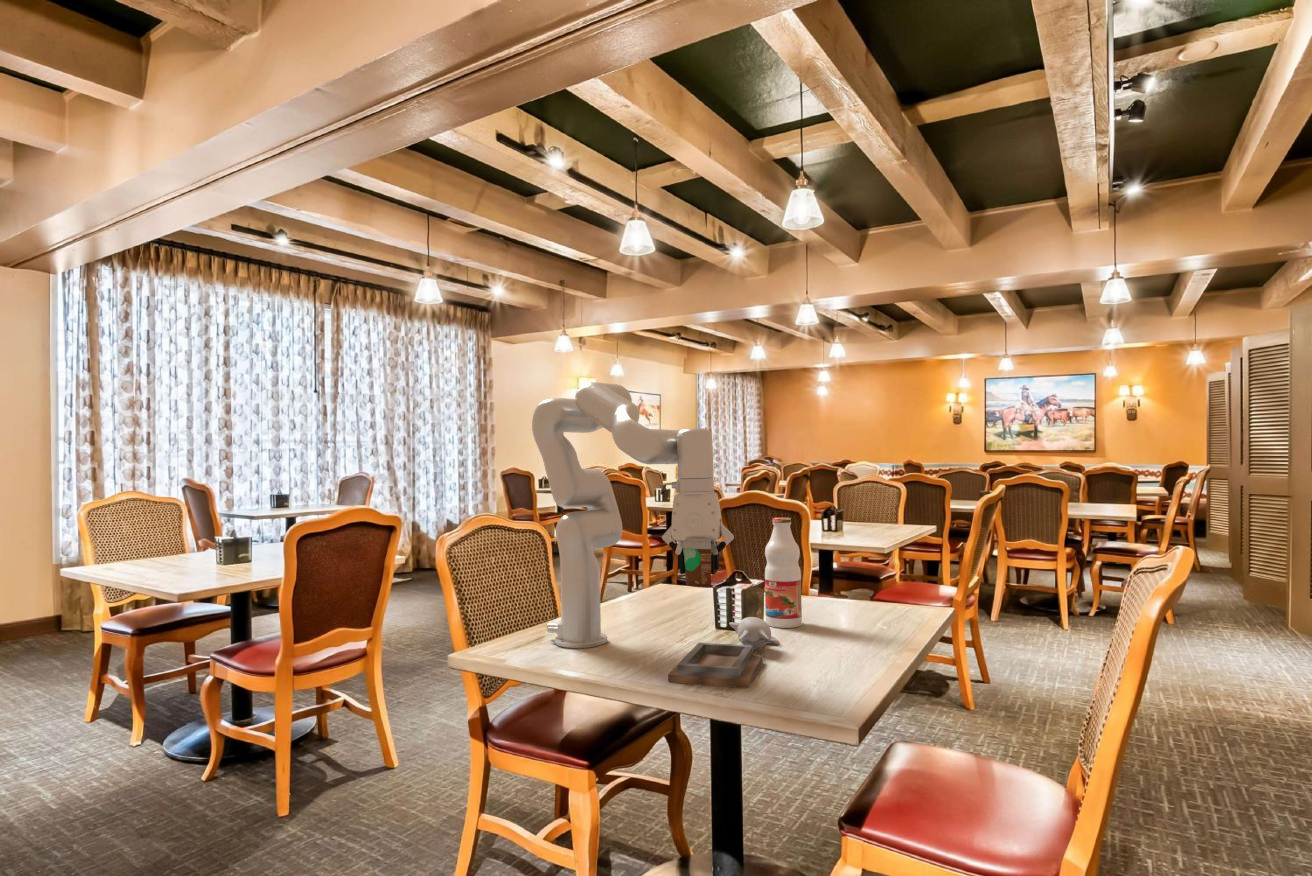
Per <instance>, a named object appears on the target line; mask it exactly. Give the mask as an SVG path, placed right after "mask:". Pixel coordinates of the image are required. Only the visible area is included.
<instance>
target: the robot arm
mask: <svg viewBox="0 0 1312 876" xmlns="http://www.w3.org/2000/svg"><path fill="white" fill-rule="evenodd" d="M632 400H633V399H632V395H631V394H630V392H629V390H628V389H627V388H626V387H624V386H623V385H621V384H615V383H607V382H596V381H594V382H588V383H585V384H582V385H581V386H580V387H579V388H578V389H577V390H576V392H575V396H574V398H566V397H564V398H563V397H553V398H548V399H545V400H543V401H541V402H540V403H538V405H537V406H536V407H535V409H534V412H533V415H532V421H531V430H532V435H533V439H534V442H535V444H536V446H537V448H538V451H539V452H540V456H541V458H542V461H543V465H544V469H545V473H546V474H545V475H546V477H547V480H548V484H549V487H550V492H551V495H552V498H553V501H554V502H555V504H556V505H557V506H558V507H560V508H563V509H573V508H587V509H586V510H579V511H578V510H576V511H571V512H568V513H566V514H564V515H563V516H560V517H561V518H559V519H558V521H557V523H556V527H555V537H556V542H557V547H558V553H559V563H560V565H559V567H560V617H561V619H560V622H559V623H555V622H553V623H552V622H548V623H547V625H546V631H547V633H549V634H550V633H552V634H553V633H554V634H556V635H557V636H556V637H555V638H554V643H555V645H557V646H558V647H562V648H568V649H587V648H594V647H599V646H602V645H604V644H606V643H607V642H608V636H607V634H605V633H603V632H602V630H601V628H602V627H601V625H602V624H601V621H602V620H601V568H600V564H599V561H598V559H597V557H596V555H595V553H594V550H595V549H602V548H608V547H612V546H614V545H616V544H617V543H619V541H620V540H621V539H622V535H623V522H622V517H621V514H620V510H619V507H618V503H617V500H616V496H615V493H614V490H613V486H612V483H611V481H610V479H609V478H608V476H607V475H606V474H605V473H604V472H602V471H601V470H598V469H594V468H589V469H588V468H586V469H585V468H582V466H581V464H580V462H579V461H580V460H579V457H578V454H577V451H576V449H575V447H574V445H573V444H572V443H571V442H570V441H569V439H568V438H567V437H566V435H564V433H576V434H577V433H578V434H579V433H580V434H582V433H583V434H585V433H586V434H589V433H593V432H596V431H598V430H601V429H605V430H606V431H608V432H610V433H611V436H612V439H613V441H614V444H615V445H616V446H617V448H618V449H619V450H620V451H622V452H623V453H625V455H627V456H629V457H630V458H632V459H633V460H634V461H636V462H638V463H641V464H645V465H677V478H676V481H673V482H672V481H671V489H675V490H677V492H678V493H675V494H674V495H673V501H672V510H671V512H672V513H671V525H670V526H669V528H668V529H667V530H666V531H665V532H664V533H663V534H662V536H661V539H662V541H664V542H665V543H666V544H667V545H668V546H669V548H671V550H673V552H674V553H675V554H676V555H677V557H676V558H677V570H679V575H684V574H685V566H684V555H683V547H680V544H681V542H683V541H685V539H686V538H697V539H711V576H712V575H713V576H714V575H716V574H717V573H718V571H719V570H720V553H721V552H722V551H723V550H724V549H725V548H726V547H727V546H728V545H729V543H731V542H732V541H733V540H734V538H735V536H734V534H733V533H731V531H730V530H729V529H728V528H727V527H726V526H725V525H724V524H723V522H722V514H721V507H720V506H721V505H720V500H719V495H718V493H716V492H715V487H714V485H715V483H714V481H715V480H714V455H713V454H714V452H713V451H714V450H713V434H712V432H711V430H710V429H708V428H704V427H703V428H701V427H696V428H695V427H694V428H683V429H680V430H679V429H662V428H661V429H659V428H658V429H657V428H648V427H646V426H644V425H643V424H641V423H639V421H640V410H639V408H638V406H637V405H636V404H635V403H634V402H633V401H632ZM723 536H724V539H723V540H721V542H720V543H719V542H718V540H719V539H721V538H722V537H723Z"/></svg>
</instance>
